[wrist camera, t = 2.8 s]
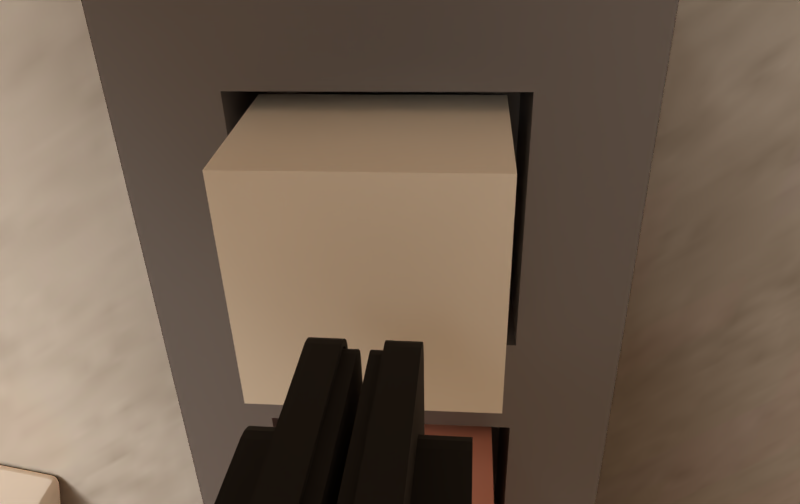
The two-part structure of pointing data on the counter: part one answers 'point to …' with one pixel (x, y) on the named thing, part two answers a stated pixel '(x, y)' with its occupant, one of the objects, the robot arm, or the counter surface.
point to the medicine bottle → (27, 487)
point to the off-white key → (369, 236)
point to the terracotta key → (474, 457)
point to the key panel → (407, 75)
